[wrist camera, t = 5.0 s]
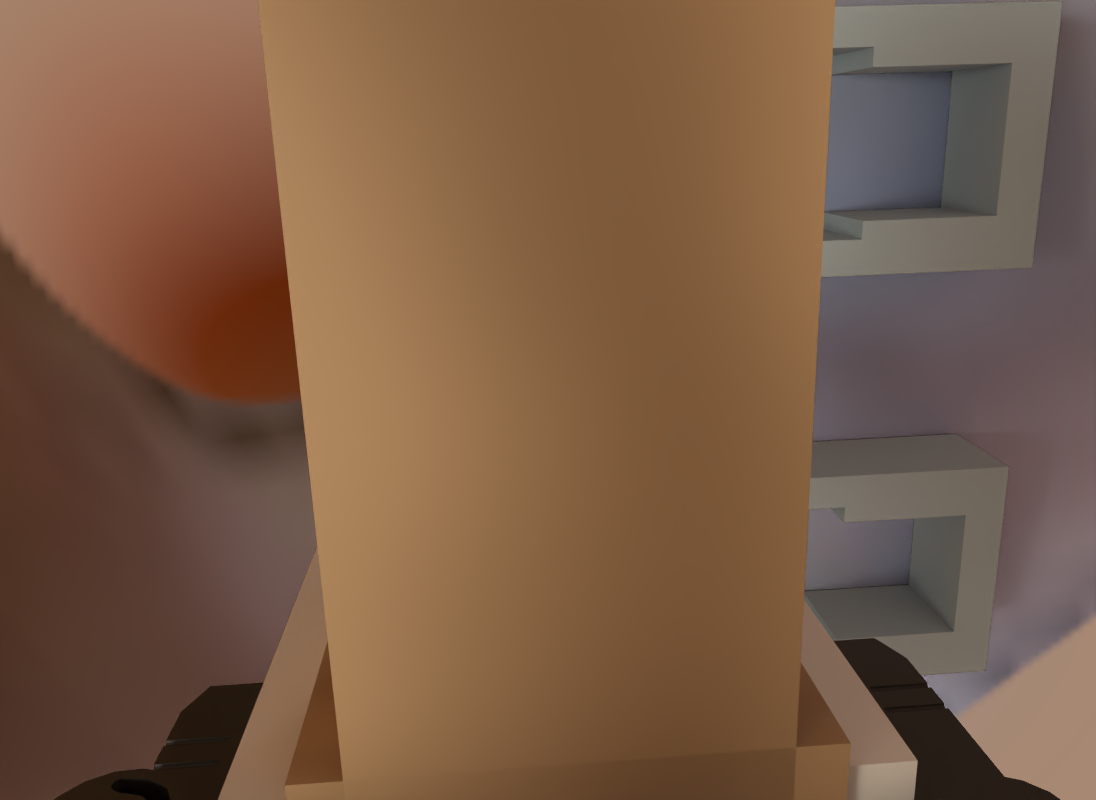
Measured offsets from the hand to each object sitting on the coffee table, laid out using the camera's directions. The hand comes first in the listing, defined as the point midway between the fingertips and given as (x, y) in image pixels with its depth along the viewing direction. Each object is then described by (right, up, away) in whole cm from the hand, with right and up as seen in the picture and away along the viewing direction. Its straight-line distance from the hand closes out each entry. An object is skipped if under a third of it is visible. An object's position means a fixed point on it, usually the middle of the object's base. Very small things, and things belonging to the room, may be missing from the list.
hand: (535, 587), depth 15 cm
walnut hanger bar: (0, 0, 0) cm, 0 cm away
